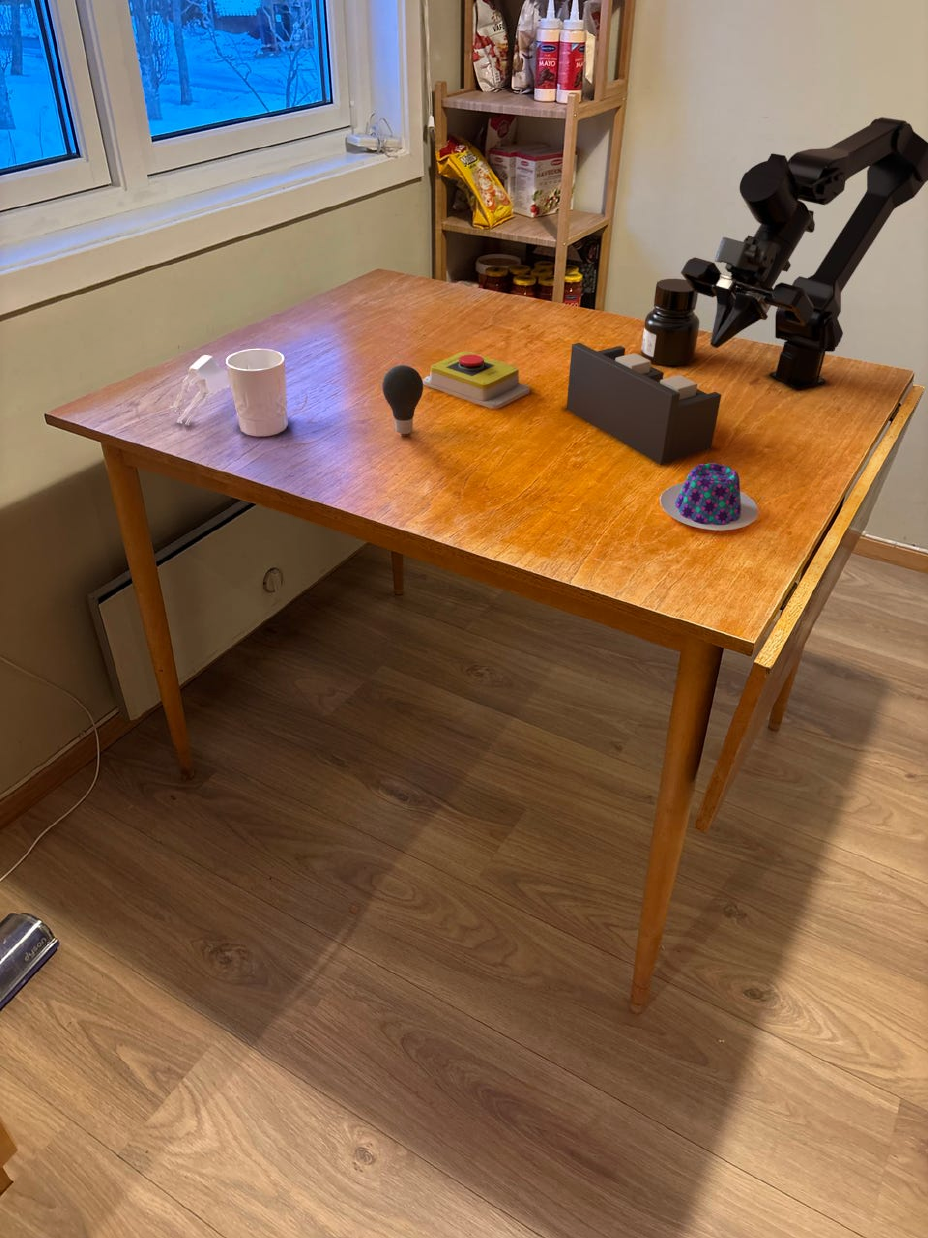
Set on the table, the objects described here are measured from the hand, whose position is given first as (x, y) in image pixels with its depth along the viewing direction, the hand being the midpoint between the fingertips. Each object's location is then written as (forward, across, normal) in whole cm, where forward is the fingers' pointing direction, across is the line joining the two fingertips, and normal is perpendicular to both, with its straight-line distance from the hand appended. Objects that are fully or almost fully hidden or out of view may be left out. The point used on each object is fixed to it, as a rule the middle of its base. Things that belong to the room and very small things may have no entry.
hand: (713, 346), depth 128 cm
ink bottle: (-2, -19, +20) cm, 28 cm away
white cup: (+41, -39, -31) cm, 64 cm away
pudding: (+22, +16, -8) cm, 28 cm away
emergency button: (+20, -30, -5) cm, 37 cm away
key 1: (+8, -9, -1) cm, 12 cm away
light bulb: (+32, -24, -20) cm, 45 cm away
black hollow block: (+14, -5, +1) cm, 15 cm away
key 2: (+9, 0, -2) cm, 9 cm away
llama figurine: (+42, -50, -32) cm, 72 cm away
